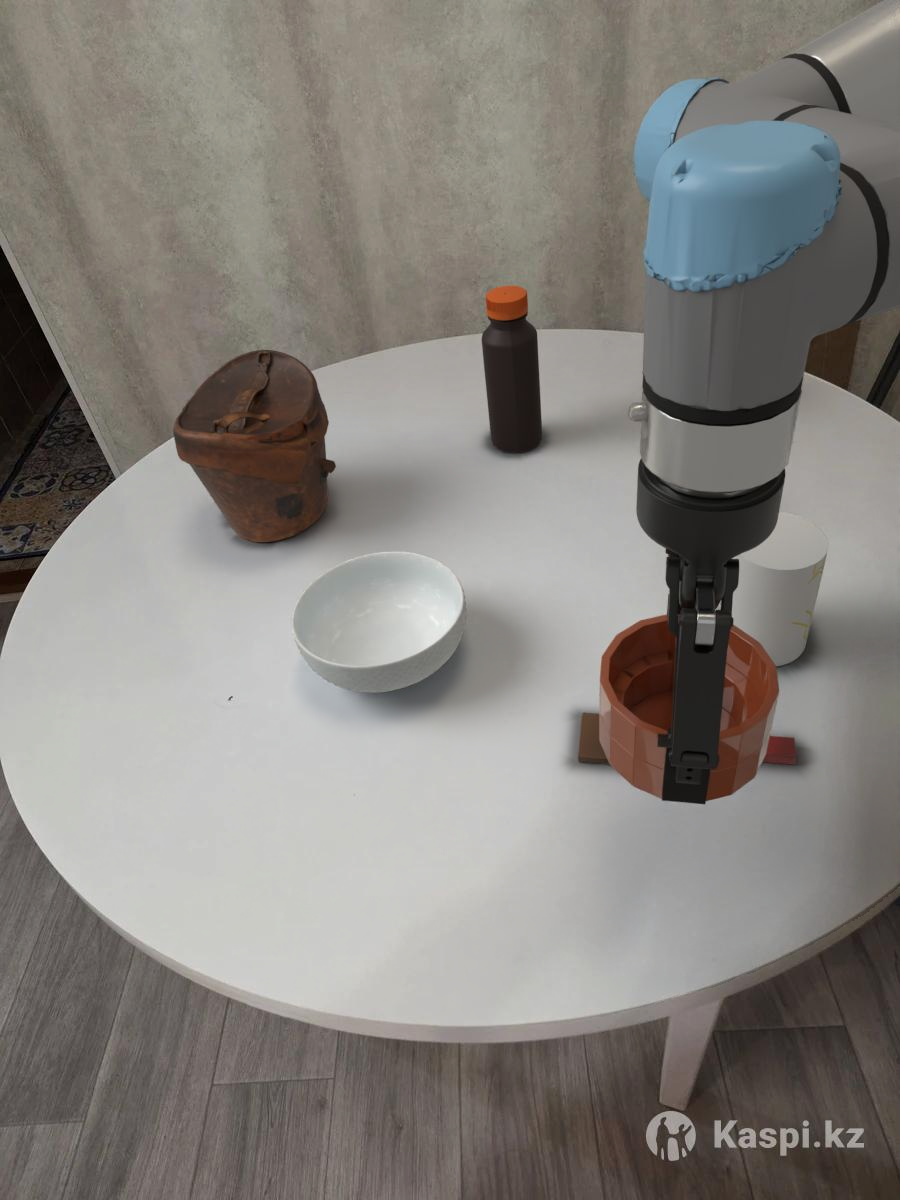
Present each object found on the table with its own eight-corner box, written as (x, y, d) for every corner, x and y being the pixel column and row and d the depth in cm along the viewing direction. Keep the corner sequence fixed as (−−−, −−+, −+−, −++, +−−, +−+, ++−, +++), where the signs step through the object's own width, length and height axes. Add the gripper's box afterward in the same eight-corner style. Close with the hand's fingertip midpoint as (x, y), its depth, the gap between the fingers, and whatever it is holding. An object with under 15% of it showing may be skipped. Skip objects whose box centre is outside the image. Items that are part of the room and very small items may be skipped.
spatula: (790, 732, 75) (792, 723, 75) (796, 779, 72) (798, 770, 71) (582, 717, 79) (582, 709, 78) (578, 762, 76) (577, 753, 75)
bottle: (497, 425, 118) (485, 281, 105) (546, 427, 116) (540, 281, 103) (486, 452, 113) (471, 306, 100) (536, 455, 111) (528, 306, 98)
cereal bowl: (456, 586, 95) (448, 535, 90) (486, 697, 82) (480, 645, 78) (302, 616, 94) (287, 567, 89) (310, 734, 81) (292, 684, 77)
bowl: (758, 686, 64) (770, 617, 59) (770, 815, 56) (786, 748, 51) (604, 676, 66) (605, 610, 62) (595, 799, 58) (595, 734, 54)
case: (227, 583, 99) (177, 450, 87) (193, 497, 114) (146, 372, 102) (371, 531, 104) (342, 398, 92) (321, 454, 118) (290, 330, 106)
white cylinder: (811, 668, 80) (835, 571, 72) (719, 664, 82) (733, 568, 74) (800, 609, 86) (822, 512, 78) (715, 606, 88) (728, 511, 80)
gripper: (643, 354, 55) (633, 606, 69) (630, 610, 38) (620, 872, 52) (768, 352, 53) (730, 611, 68) (813, 619, 36) (750, 886, 51)
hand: (682, 725), depth 60 cm, fingers closed on bowl, 11 cm apart
